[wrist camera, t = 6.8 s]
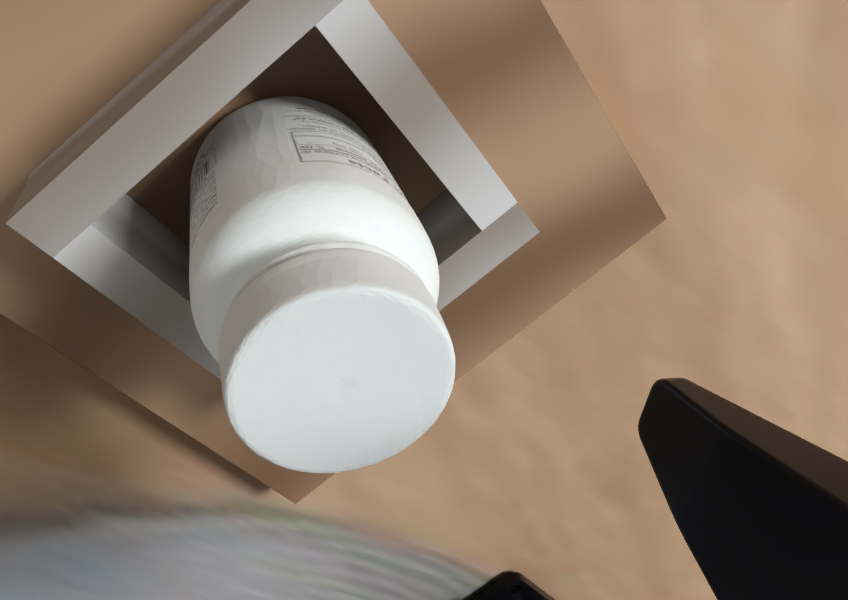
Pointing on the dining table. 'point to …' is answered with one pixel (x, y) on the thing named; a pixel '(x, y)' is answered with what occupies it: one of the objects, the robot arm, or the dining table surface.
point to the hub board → (314, 79)
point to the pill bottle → (314, 289)
